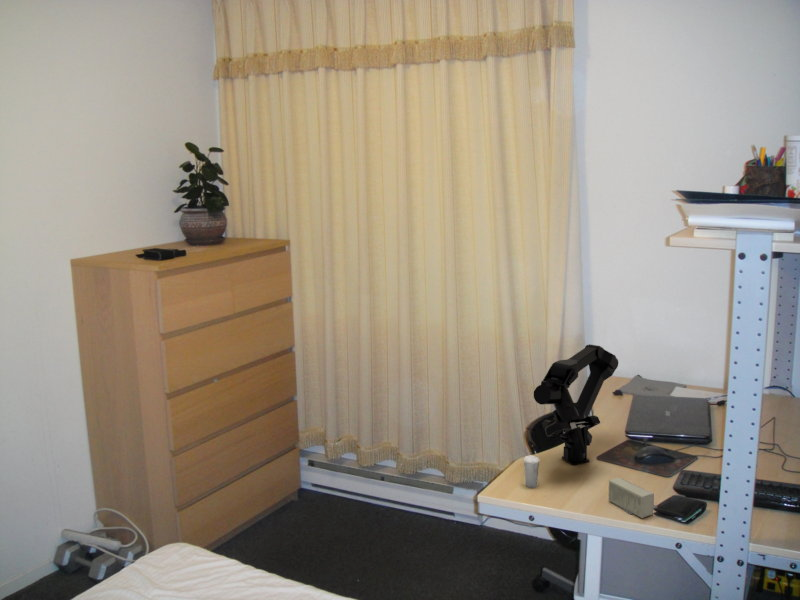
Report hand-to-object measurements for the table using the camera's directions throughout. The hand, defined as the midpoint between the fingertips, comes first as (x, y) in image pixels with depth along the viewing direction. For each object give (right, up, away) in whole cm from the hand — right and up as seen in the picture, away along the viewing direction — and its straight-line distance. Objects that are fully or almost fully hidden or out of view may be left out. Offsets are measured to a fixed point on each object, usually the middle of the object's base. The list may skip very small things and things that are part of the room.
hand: (584, 453), depth 204 cm
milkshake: (-15, -10, +2) cm, 18 cm away
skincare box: (+6, -8, -9) cm, 13 cm away
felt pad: (+10, -12, -12) cm, 20 cm away
